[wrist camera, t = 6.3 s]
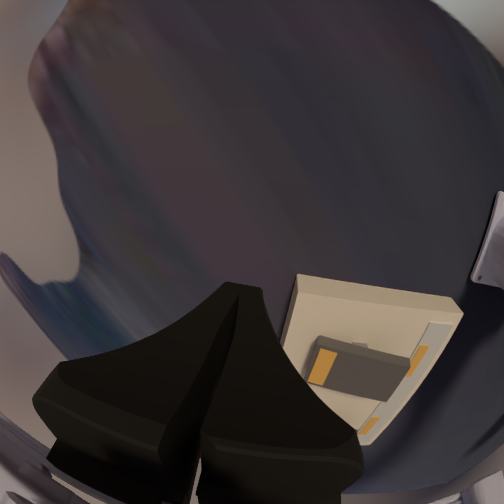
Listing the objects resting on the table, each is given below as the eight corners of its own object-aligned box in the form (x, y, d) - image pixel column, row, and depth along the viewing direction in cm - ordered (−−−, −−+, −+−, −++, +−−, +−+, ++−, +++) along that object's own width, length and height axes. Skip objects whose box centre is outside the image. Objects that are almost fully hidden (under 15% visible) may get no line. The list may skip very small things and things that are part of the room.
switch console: (451, 297, 19) (467, 317, 16) (367, 429, 27) (370, 448, 24) (296, 273, 20) (298, 297, 17) (256, 422, 28) (253, 444, 25)
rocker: (409, 358, 16) (410, 368, 15) (386, 393, 18) (386, 403, 17) (319, 335, 18) (317, 344, 17) (305, 372, 20) (302, 382, 19)
